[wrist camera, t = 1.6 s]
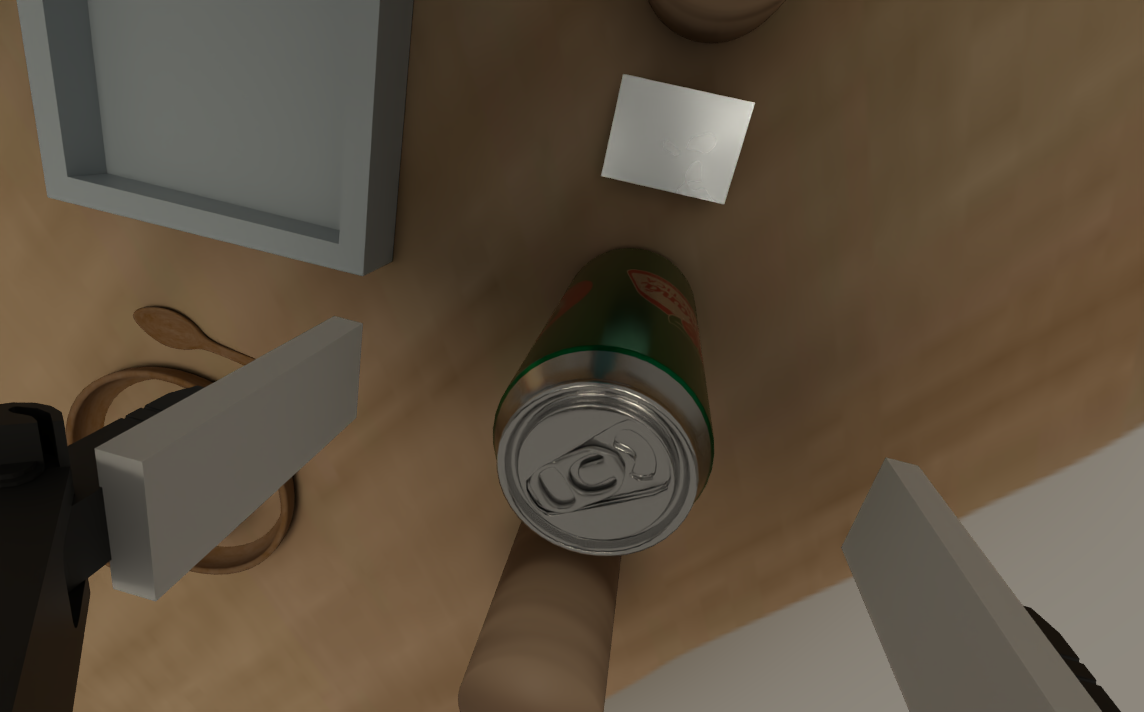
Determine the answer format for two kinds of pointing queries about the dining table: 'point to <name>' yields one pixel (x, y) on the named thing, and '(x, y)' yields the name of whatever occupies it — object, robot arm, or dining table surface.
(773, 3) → the dowel near
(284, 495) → the place setting
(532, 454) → the soda can
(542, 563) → the dowel far
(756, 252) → the dining table surface
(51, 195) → the tray
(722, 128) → the clip rack
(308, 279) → the dining table surface
